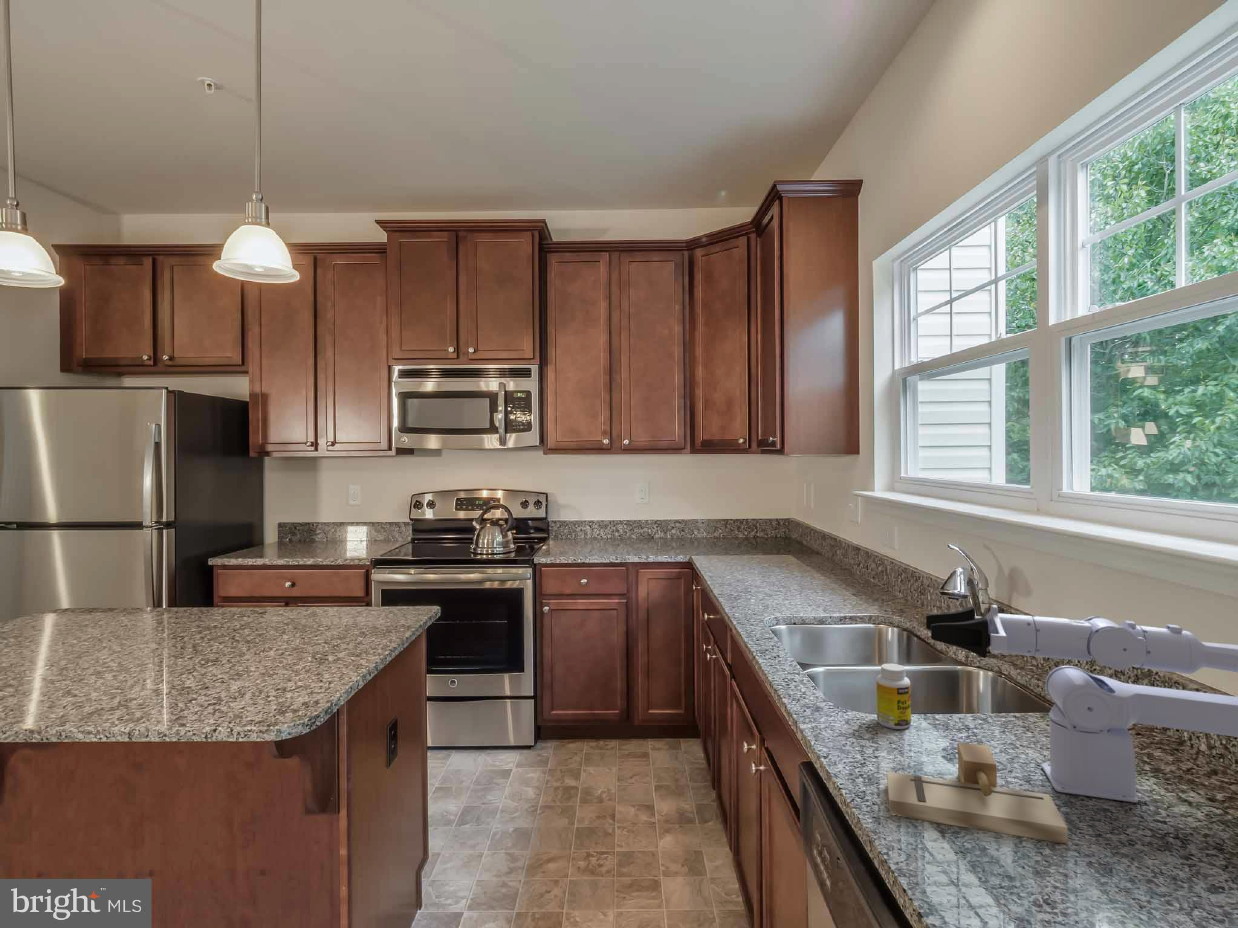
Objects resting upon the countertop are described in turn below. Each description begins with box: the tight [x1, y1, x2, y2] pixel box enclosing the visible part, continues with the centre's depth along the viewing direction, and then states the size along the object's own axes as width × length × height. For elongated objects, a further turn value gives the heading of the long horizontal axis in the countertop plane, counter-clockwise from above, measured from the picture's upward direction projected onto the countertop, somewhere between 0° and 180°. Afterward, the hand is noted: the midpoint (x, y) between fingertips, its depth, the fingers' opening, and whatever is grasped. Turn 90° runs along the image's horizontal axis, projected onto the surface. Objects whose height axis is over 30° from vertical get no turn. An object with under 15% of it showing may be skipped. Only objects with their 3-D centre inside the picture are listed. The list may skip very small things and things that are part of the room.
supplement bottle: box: [876, 663, 912, 730], centre depth 113 cm, size 6×6×10 cm
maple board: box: [886, 771, 1069, 845], centre depth 84 cm, size 20×8×2 cm, turn 69°
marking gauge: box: [957, 742, 998, 796], centre depth 88 cm, size 4×11×5 cm, turn 159°
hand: (928, 626), depth 98 cm, fingers open, 7 cm apart
